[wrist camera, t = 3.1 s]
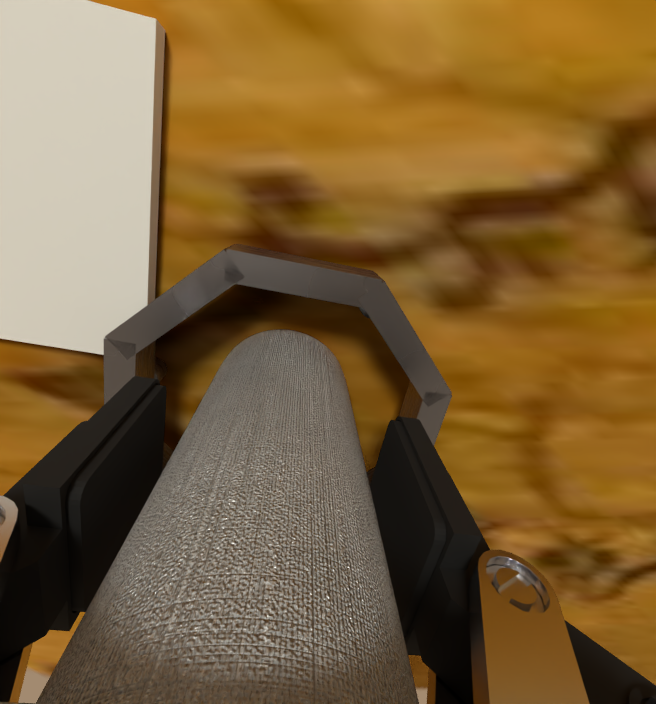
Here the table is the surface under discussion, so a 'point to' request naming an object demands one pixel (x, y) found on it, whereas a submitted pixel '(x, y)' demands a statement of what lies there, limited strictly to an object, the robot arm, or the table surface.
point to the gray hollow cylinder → (250, 556)
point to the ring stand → (287, 277)
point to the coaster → (77, 169)
